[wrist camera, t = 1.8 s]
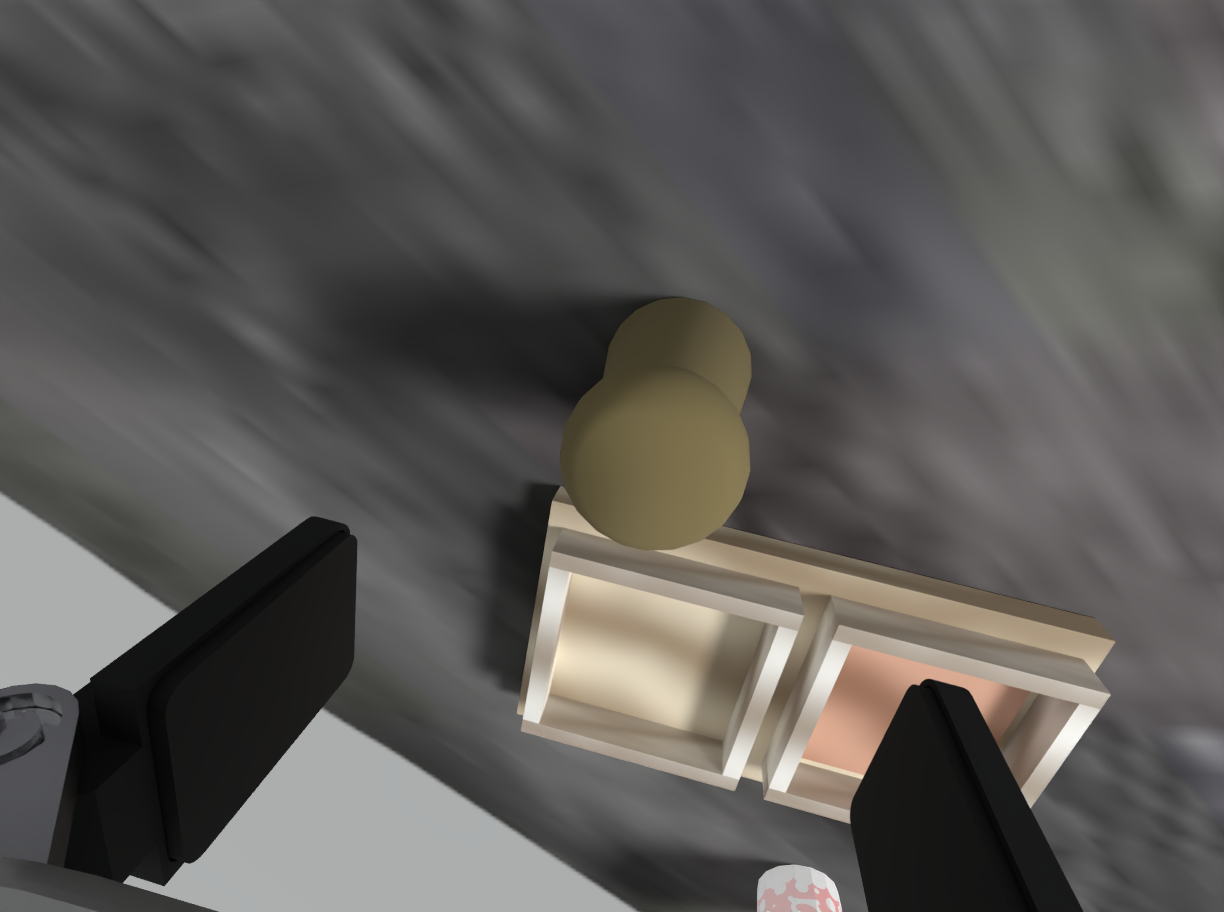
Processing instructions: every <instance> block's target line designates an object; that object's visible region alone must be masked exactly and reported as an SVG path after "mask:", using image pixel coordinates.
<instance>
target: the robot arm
mask: <svg viewBox="0 0 1224 912" xmlns="http://www.w3.org/2000/svg"><path fill="white" fill-rule="evenodd" d="M356 572H357V539H356V537H355V536H354V535H350V530H349V528H348V526H347V525H345V524H343V523H339V522H335V521H331V520H327V519H324V518H320V517H316V516H314V517H310V518H308V519H306V520H305V521H303V522H302V523H301V524H299V525H298V526H297V527H295V528H294V529H293V530H291V531H290V532H289V533H287V534H286V535H284V536H283V537H282V538H280V539H279V540H278V541H276V542H275V543H274V544H272V545H271V546H269V547H268V548H267V549H265V550H264V551H263V552H261V553H260V554H259V555H257V556H256V557H255V558H253V559H252V560H250V561H249V562H248V563H246V564H245V565H244V566H242V567H241V568H240V569H238V570H237V571H235V572H234V573H233V574H231V575H230V576H229V577H227V578H226V579H225V580H223V581H222V582H220V583H219V584H218V585H216V586H215V587H214V588H212V589H211V590H210V591H208V592H207V593H206V594H204V595H203V596H201V597H200V598H199V599H197V600H196V601H195V602H193V603H192V604H191V605H189V606H188V607H186V608H185V609H184V610H182V611H181V612H180V613H178V614H177V615H176V616H174V617H173V618H172V619H170V620H169V621H167V622H166V623H165V624H163V625H162V626H161V627H159V628H158V629H157V630H155V631H154V632H153V633H151V634H150V635H148V636H147V637H146V638H144V639H143V640H142V641H140V642H139V643H137V644H136V645H135V646H133V647H132V648H131V649H129V650H128V651H127V652H125V653H124V654H123V655H121V656H120V657H118V658H117V659H116V660H114V661H113V662H112V663H110V664H109V665H108V666H106V667H105V668H103V669H102V670H101V671H99V672H98V673H97V674H95V675H94V676H93V677H91V678H90V681H91V682H90V683H88V684H87V685H86V686H84V687H83V688H81V689H80V690H79V691H77V692H76V693H75V694H72V693H71V692H70V691H68V690H66V689H63V688H61V687H58V686H56V685H46V684H27V685H17V686H10V687H7V688H3V689H0V912H217V911H214V910H211V909H208V908H204V907H201V906H198V905H194V904H191V903H187V902H184V901H181V900H177V899H174V898H171V897H167V896H164V895H161V894H157V893H154V892H150V891H147V890H144V889H140V888H137V887H133V886H130V885H127V884H123V882H124V881H125V880H126V879H127V877H128V876H129V875H131V876H134V877H137V878H140V879H144V880H147V881H150V882H153V883H156V884H159V885H162V886H165V885H166V884H167V883H168V881H169V880H170V879H171V878H172V876H173V875H174V874H175V873H176V872H177V870H178V869H179V868H180V867H181V866H182V864H183V863H184V862H185V863H192V862H195V861H196V860H197V859H198V858H199V857H201V855H202V854H203V853H204V852H205V851H206V850H207V848H208V847H209V846H210V845H211V844H212V842H213V841H214V840H215V839H216V837H217V836H218V835H219V834H220V833H221V831H222V830H223V829H224V828H225V826H226V825H227V824H228V823H229V821H230V820H231V819H232V818H233V817H234V815H235V814H236V813H237V811H238V810H239V809H240V808H241V807H242V805H243V804H244V803H245V802H246V801H247V799H248V798H249V797H250V796H251V794H252V793H253V792H254V791H255V789H256V788H257V787H258V786H259V784H260V783H261V782H262V781H263V780H264V778H265V777H266V776H267V775H268V774H269V772H270V771H271V770H272V769H273V767H274V766H275V765H276V764H277V762H278V761H279V760H280V759H281V757H282V756H283V755H284V754H285V753H286V751H287V750H288V749H289V748H290V746H291V745H292V744H293V743H294V741H295V740H296V739H297V738H298V736H299V735H300V734H301V733H302V731H303V730H304V729H305V728H306V727H307V725H308V724H309V723H310V722H311V720H312V719H313V718H314V717H315V716H316V714H317V713H318V712H319V711H320V709H321V708H322V707H323V706H324V705H325V703H326V702H327V701H328V700H329V698H330V697H331V696H332V695H333V693H334V692H335V691H336V690H337V689H338V687H339V686H340V685H341V684H342V682H343V681H344V680H345V678H346V677H347V675H348V674H349V672H350V669H351V667H352V664H353V660H354V640H355V606H356ZM850 824H851V829H852V834H853V839H854V844H855V848H856V853H857V858H858V863H859V868H860V873H861V877H862V882H863V887H864V892H865V897H866V902H867V906H868V911H869V912H1083V910H1082V908H1081V906H1080V904H1079V902H1078V900H1077V898H1076V896H1075V895H1074V893H1073V891H1072V889H1071V887H1070V885H1069V883H1068V881H1067V879H1066V877H1065V875H1064V873H1063V871H1062V869H1061V867H1060V865H1059V863H1058V861H1057V859H1056V858H1055V856H1054V854H1053V852H1052V850H1051V848H1050V846H1049V844H1048V842H1047V840H1046V838H1045V836H1044V834H1043V832H1042V830H1041V828H1040V826H1039V824H1038V823H1037V821H1036V819H1035V817H1034V815H1033V813H1032V811H1031V809H1030V807H1029V805H1028V803H1027V801H1026V799H1025V797H1024V795H1023V793H1022V791H1021V789H1020V788H1019V786H1018V784H1017V782H1016V780H1015V778H1014V776H1013V774H1012V772H1011V770H1010V768H1009V766H1008V764H1007V762H1006V760H1005V758H1004V756H1003V754H1002V753H1001V751H1000V749H999V747H998V745H997V743H996V741H995V739H994V737H993V735H992V733H991V731H990V729H989V727H988V725H987V723H986V721H985V719H984V717H983V716H982V714H981V712H980V710H979V708H978V706H977V704H976V702H975V700H974V698H973V696H972V694H971V693H970V692H969V690H967V689H965V688H963V687H960V686H956V685H952V684H948V683H944V682H941V681H937V680H933V679H925V680H924V681H922V682H921V684H920V685H915V684H913V685H911V686H910V687H909V688H908V689H907V691H906V693H905V695H904V697H903V699H902V701H901V703H900V705H899V707H898V709H897V711H896V713H895V715H894V717H893V719H892V721H891V723H890V725H889V727H888V729H887V731H886V733H885V735H884V737H883V739H882V741H881V743H880V745H879V747H878V749H877V751H876V753H875V755H874V757H873V759H872V761H871V763H870V765H869V767H868V769H867V771H866V773H865V775H864V777H863V779H862V781H861V783H860V785H859V787H858V789H857V791H856V793H855V795H854V797H853V799H852V803H851V807H850Z"/></svg>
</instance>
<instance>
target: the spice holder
mask: <svg viewBox="0 0 1224 912" xmlns="http://www.w3.org/2000/svg"><path fill="white" fill-rule="evenodd" d="M1115 642H1116V641H1115V640H1114V639H1113V638H1112V637H1111V635H1110V634H1109V633H1108V632H1107V631H1106V630H1105V629H1104V627H1103V626H1102V625H1101V624H1100V623H1099V622H1098V621H1097V620H1096V619H1095V618H1091V617H1087V616H1083V615H1079V614H1075V613H1071V612H1067V611H1063V610H1059V609H1055V608H1051V607H1047V606H1043V605H1039V604H1035V603H1031V602H1027V601H1023V600H1019V599H1015V598H1011V597H1007V596H1003V595H998V594H994V593H990V592H986V591H982V590H978V589H974V588H970V587H966V586H962V585H958V584H954V583H950V582H946V581H942V580H938V579H934V578H930V577H926V576H922V575H918V574H914V573H910V572H906V571H902V570H898V569H894V568H890V567H885V566H881V565H877V564H873V563H869V562H865V561H861V560H857V559H853V558H849V557H845V556H841V555H837V554H833V553H829V552H825V551H821V550H817V549H813V548H809V547H805V546H801V545H797V544H793V543H789V542H785V541H781V540H777V539H772V538H768V537H764V536H760V535H756V534H752V533H748V532H744V531H740V530H736V529H732V528H728V527H724V526H721V527H720V528H719V529H717V530H716V531H714V532H713V533H711V534H710V535H708V536H707V537H706V538H704V539H703V540H701V541H700V542H697V543H693V544H690V545H687V546H684V547H681V548H678V549H674V550H650V551H644V550H640V549H636V548H632V547H628V546H624V545H620V544H619V543H617V542H615V541H613V540H612V539H610V538H608V537H606V536H604V535H603V534H601V533H599V532H598V531H596V530H595V529H594V528H593V527H592V526H591V525H590V524H589V523H588V522H587V521H586V520H585V519H584V518H583V517H582V516H581V515H580V514H579V513H578V512H577V510H576V508H575V507H574V505H573V503H572V501H571V499H570V497H569V495H568V493H567V491H566V490H565V488H564V487H563V486H560V488H559V489H558V491H557V493H556V495H555V497H554V498H553V500H552V505H551V511H550V517H549V523H548V529H547V535H546V541H545V547H544V553H543V559H542V565H541V571H540V577H539V583H538V589H537V595H536V601H535V607H534V613H533V619H532V625H531V631H530V637H529V643H528V649H527V655H526V661H525V667H524V673H523V679H522V685H521V691H520V697H519V703H518V709H517V714H520V715H524V716H523V722H522V728H521V731H522V732H526V733H530V734H533V735H537V736H540V737H544V738H547V739H551V740H554V741H558V742H562V743H565V744H569V745H572V746H576V747H579V748H583V749H586V750H590V751H594V752H597V753H601V754H604V755H608V756H611V757H615V758H618V759H622V760H626V761H629V762H633V763H636V764H640V765H643V766H647V767H651V768H654V769H658V770H661V771H665V772H668V773H672V774H675V775H679V776H683V777H686V778H690V779H693V780H697V781H700V782H704V783H707V784H711V785H715V786H718V787H722V788H725V789H729V790H732V791H735V789H736V786H737V784H738V781H739V779H740V776H742V777H746V778H750V779H753V780H757V781H760V782H763V795H764V800H768V801H771V802H775V803H779V804H782V805H786V806H789V807H793V808H796V809H800V810H803V811H807V812H811V813H814V814H818V815H821V816H825V817H828V818H832V819H835V820H839V821H843V822H846V823H850V807H851V803H852V799H853V797H854V795H855V793H856V791H857V789H858V787H859V785H860V783H861V781H862V779H863V777H864V775H865V773H866V771H867V769H868V767H869V765H870V763H871V761H872V759H873V757H874V755H875V753H876V751H877V749H878V747H879V745H880V743H881V741H882V739H883V737H884V735H885V733H886V731H887V729H888V727H889V725H890V723H891V721H892V719H893V717H894V715H895V713H896V711H897V709H898V707H899V705H900V703H901V701H902V699H903V697H904V695H905V693H906V691H907V689H908V688H909V687H910V686H911V685H913V684H915V685H920V684H921V682H922V681H924V680H925V679H933V680H937V681H941V682H944V683H948V684H952V685H956V686H960V687H963V688H965V689H967V690H969V692H970V693H971V694H972V696H973V698H974V700H975V702H976V704H977V706H978V708H979V710H980V712H981V714H982V716H983V717H984V719H985V721H986V723H987V725H988V727H989V729H990V731H991V733H992V735H993V737H994V739H995V741H996V743H997V745H998V747H999V749H1000V751H1001V753H1002V754H1003V756H1004V758H1005V760H1006V762H1007V764H1008V766H1009V768H1010V770H1011V772H1012V774H1013V776H1014V778H1015V780H1016V782H1017V784H1018V786H1019V788H1020V789H1021V791H1022V793H1023V795H1024V797H1025V799H1026V801H1027V803H1028V805H1029V807H1030V808H1031V807H1032V805H1033V804H1034V803H1035V801H1036V800H1037V798H1038V797H1039V796H1040V794H1041V793H1042V791H1043V790H1044V789H1045V787H1046V786H1047V784H1048V783H1049V781H1050V780H1051V779H1052V777H1053V776H1054V774H1055V773H1056V772H1057V770H1058V769H1059V767H1060V766H1061V764H1062V763H1063V762H1064V760H1065V759H1066V757H1067V756H1068V755H1069V753H1070V752H1071V750H1072V749H1073V748H1074V746H1075V745H1076V743H1077V742H1078V740H1079V739H1080V738H1081V736H1082V735H1083V733H1084V732H1085V731H1086V729H1087V728H1088V726H1089V725H1090V724H1091V722H1092V721H1093V719H1094V718H1095V716H1096V715H1097V714H1098V712H1099V711H1100V709H1101V708H1102V707H1103V705H1104V704H1105V702H1106V701H1107V699H1108V698H1109V697H1110V695H1111V694H1110V693H1109V691H1108V690H1107V689H1106V687H1105V686H1104V685H1103V684H1102V682H1101V681H1100V680H1099V678H1098V677H1097V676H1096V674H1095V671H1096V670H1097V669H1098V667H1099V666H1100V664H1101V663H1102V661H1103V660H1104V658H1105V657H1106V655H1107V654H1108V652H1109V651H1110V649H1111V648H1112V646H1113V645H1114V643H1115Z"/></svg>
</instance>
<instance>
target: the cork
mask: <svg viewBox="0 0 1224 912" xmlns="http://www.w3.org/2000/svg"><path fill="white" fill-rule="evenodd" d="M751 377H752V375H751V354H750V351H749V349H748V346H747V344H746V341H745V339H744V336H743V334H742V332H741V331H740V329H739V328H738V327H737V326H736V325H735V324H734V322H733V321H732V320H731V319H730V318H729V317H728V315H727V314H725V313H724V312H722V311H720V310H718V309H717V308H715V307H713V306H712V305H710V304H708V303H707V302H703V301H699V300H694V299H690V298H685V297H677V298H668V299H659V300H656V301H654V302H652V303H650V304H648V305H645V306H643V307H641V308H639V309H637V310H636V311H635V312H634V313H633V314H631V315H630V316H629V317H628V318H627V319H626V320H625V321H624V322H623V323H622V324H621V325H620V326H619V328H618V330H617V332H616V333H615V335H614V337H613V339H612V341H611V342H610V344H609V349H608V354H607V359H606V365H605V370H604V375H603V379H602V380H600V381H599V382H598V383H597V384H596V385H595V386H594V387H593V388H591V389H590V390H589V391H588V392H587V393H586V394H585V395H584V396H583V397H582V398H581V399H580V400H579V402H578V403H577V405H576V407H575V409H574V410H573V412H572V414H571V416H570V418H569V420H568V421H567V423H566V425H565V427H564V433H563V439H562V445H561V451H560V465H561V471H562V476H563V482H564V488H565V490H566V491H567V493H568V495H569V497H570V499H571V501H572V503H573V505H574V507H575V508H576V510H577V512H578V513H579V514H580V515H581V516H582V517H583V518H584V519H585V520H586V521H587V522H588V523H589V524H590V525H591V526H592V527H593V528H594V529H595V530H596V531H598V532H599V533H601V534H603V535H604V536H606V537H608V538H610V539H612V540H613V541H615V542H617V543H619V544H620V545H624V546H628V547H632V548H636V549H640V550H644V551H650V550H674V549H678V548H681V547H684V546H687V545H690V544H693V543H697V542H700V541H701V540H703V539H704V538H706V537H707V536H708V535H710V534H711V533H713V532H714V531H716V530H717V529H719V528H720V527H721V526H722V525H723V524H724V523H725V521H726V520H727V519H728V517H729V516H730V515H731V513H732V512H733V511H734V509H735V508H736V507H737V505H738V504H739V502H740V500H741V498H742V496H743V493H744V490H745V486H746V483H747V480H748V477H749V473H750V456H749V440H748V434H747V432H746V429H745V427H744V425H743V422H742V420H741V417H740V412H741V409H742V406H743V404H744V401H745V398H746V394H747V391H748V387H749V384H750V380H751Z"/></svg>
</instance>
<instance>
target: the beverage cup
mask: <svg viewBox="0 0 1224 912" xmlns="http://www.w3.org/2000/svg"><path fill="white" fill-rule="evenodd" d="M757 912H842V908H841V904H840V899H839V895H838V891H837V889H836V886H835V884H834V882H833V881H832V880H831V879H830V878H828V877H827V876H826V875H825V874H824V873H822V872H820V871H817V870H815V869H813V868H811V867H806V866H800V865H784V866H778V867H775V868H773V869H770V870H768V871H766V872H765V873H764V874H763V875H762V877H761V878H760V879H759V882H758V888H757Z"/></svg>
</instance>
